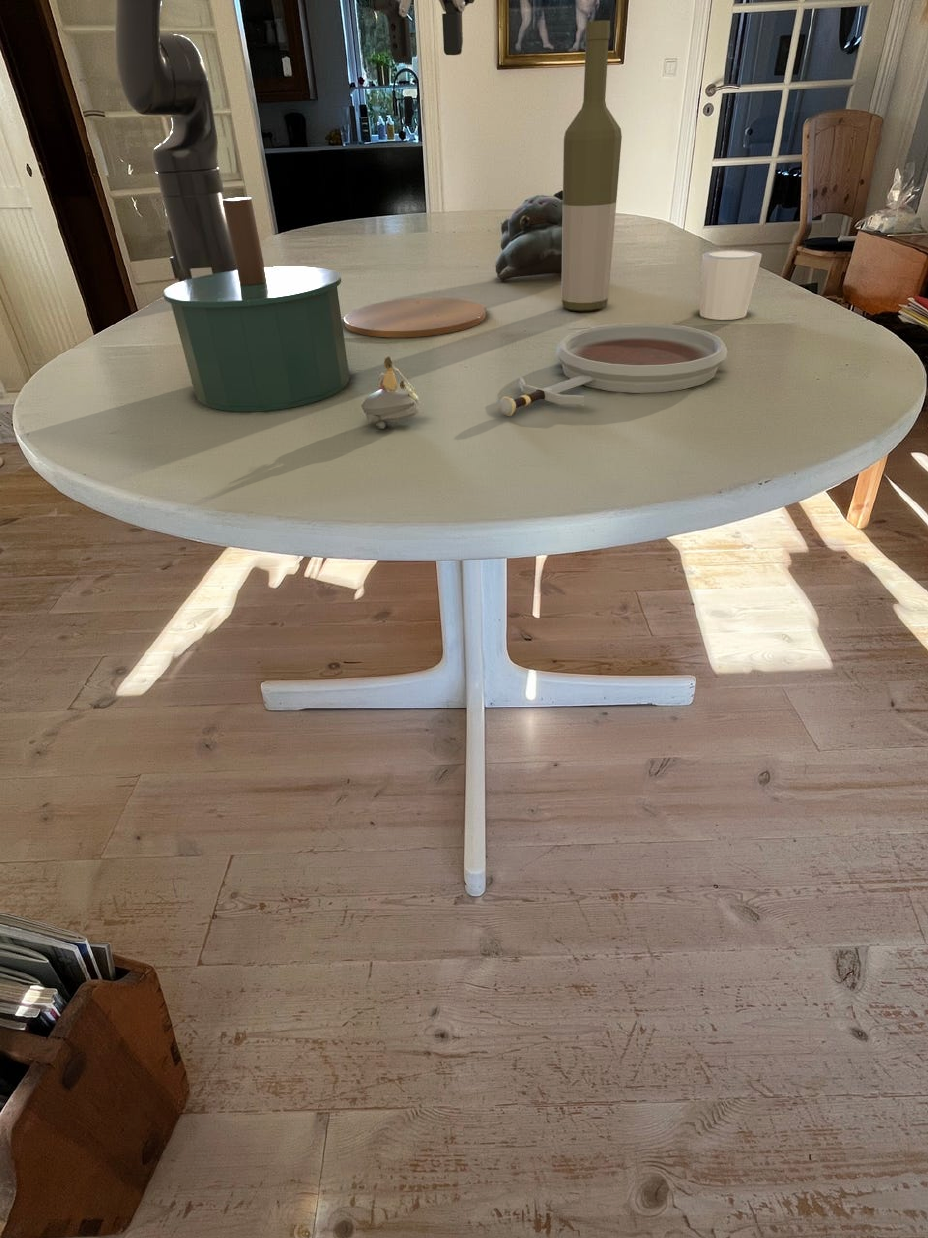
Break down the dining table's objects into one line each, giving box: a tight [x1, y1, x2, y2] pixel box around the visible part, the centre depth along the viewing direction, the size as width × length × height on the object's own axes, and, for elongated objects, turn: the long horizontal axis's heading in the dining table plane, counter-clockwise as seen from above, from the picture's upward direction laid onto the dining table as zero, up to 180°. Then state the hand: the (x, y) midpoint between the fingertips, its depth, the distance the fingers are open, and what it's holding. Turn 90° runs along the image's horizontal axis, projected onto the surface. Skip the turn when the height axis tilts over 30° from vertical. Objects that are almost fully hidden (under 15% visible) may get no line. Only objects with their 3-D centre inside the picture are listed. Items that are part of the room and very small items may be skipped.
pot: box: [170, 286, 350, 413], centre depth 72 cm, size 16×16×10 cm
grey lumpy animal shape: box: [494, 189, 563, 282], centre depth 113 cm, size 15×12×14 cm
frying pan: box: [498, 322, 728, 417], centre depth 70 cm, size 17×3×28 cm
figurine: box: [360, 356, 422, 430], centre depth 62 cm, size 5×4×6 cm
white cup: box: [699, 249, 763, 321], centre depth 88 cm, size 7×7×7 cm
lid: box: [162, 196, 342, 308], centre depth 67 cm, size 17×17×8 cm
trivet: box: [343, 297, 487, 339], centre depth 96 cm, size 19×19×1 cm
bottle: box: [561, 20, 623, 312], centre depth 88 cm, size 7×7×30 cm
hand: (428, 58), depth 81 cm, fingers open, 8 cm apart
